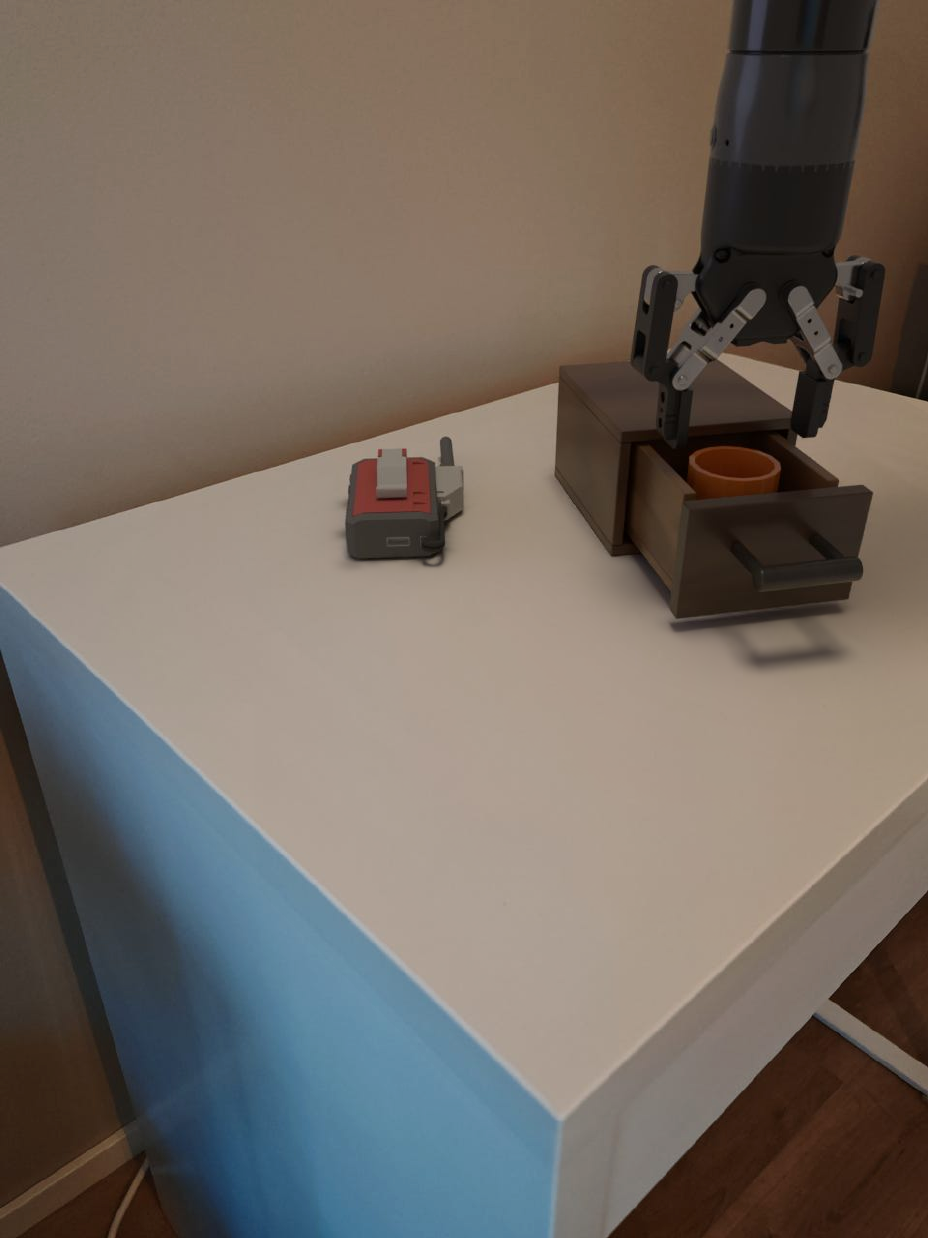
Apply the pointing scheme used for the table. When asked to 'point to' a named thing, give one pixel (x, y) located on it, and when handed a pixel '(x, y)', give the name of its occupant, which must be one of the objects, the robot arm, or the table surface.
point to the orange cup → (732, 472)
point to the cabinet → (640, 431)
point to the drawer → (745, 530)
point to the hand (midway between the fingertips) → (739, 438)
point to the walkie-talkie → (402, 503)
